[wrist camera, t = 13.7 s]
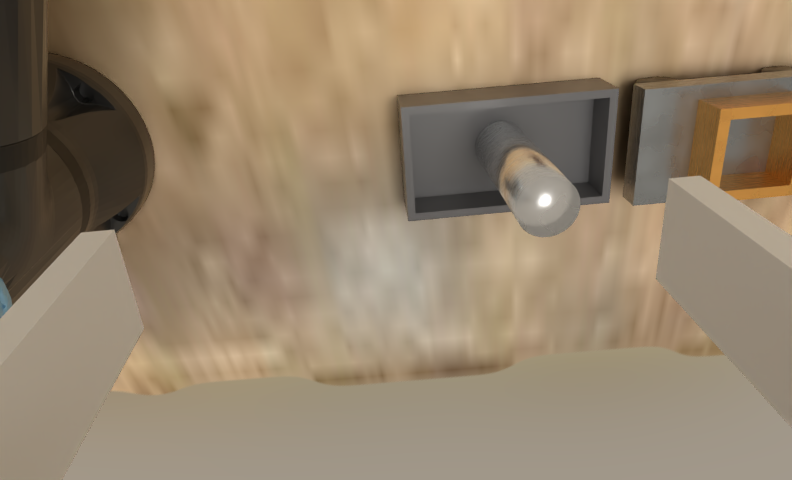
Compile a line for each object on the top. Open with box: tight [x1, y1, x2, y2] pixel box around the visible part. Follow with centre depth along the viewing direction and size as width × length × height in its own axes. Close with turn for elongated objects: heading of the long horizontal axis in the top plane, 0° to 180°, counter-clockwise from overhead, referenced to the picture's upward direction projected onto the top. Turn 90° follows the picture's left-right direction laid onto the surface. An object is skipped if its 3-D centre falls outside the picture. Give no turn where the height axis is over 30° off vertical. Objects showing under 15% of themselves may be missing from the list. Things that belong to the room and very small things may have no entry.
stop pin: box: [476, 121, 580, 237], centre depth 43 cm, size 4×4×13 cm
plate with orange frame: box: [623, 66, 792, 206], centre depth 47 cm, size 15×9×8 cm, turn 94°
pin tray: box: [397, 78, 619, 221], centre depth 48 cm, size 16×9×4 cm, turn 94°
